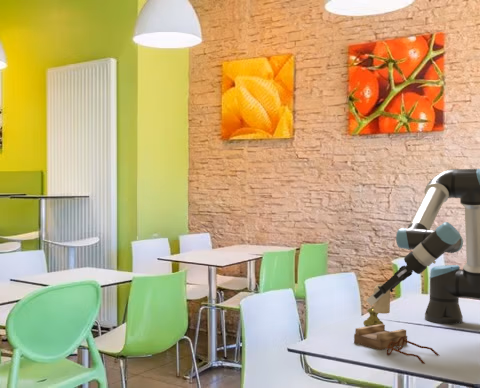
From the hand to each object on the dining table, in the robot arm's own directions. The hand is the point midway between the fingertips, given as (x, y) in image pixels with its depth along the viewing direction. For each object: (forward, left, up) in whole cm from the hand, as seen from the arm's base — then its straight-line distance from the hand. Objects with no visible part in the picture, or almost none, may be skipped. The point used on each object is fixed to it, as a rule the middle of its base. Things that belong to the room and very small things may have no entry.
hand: (371, 301), depth 205 cm
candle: (-1, +3, -4) cm, 5 cm away
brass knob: (-10, -8, -15) cm, 20 cm away
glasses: (+2, +19, -15) cm, 24 cm away
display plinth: (-1, +3, -14) cm, 15 cm away
